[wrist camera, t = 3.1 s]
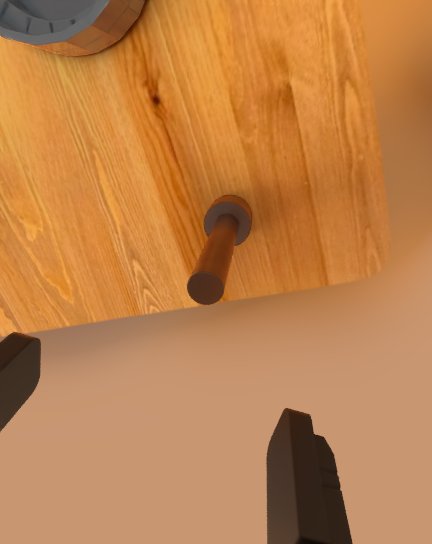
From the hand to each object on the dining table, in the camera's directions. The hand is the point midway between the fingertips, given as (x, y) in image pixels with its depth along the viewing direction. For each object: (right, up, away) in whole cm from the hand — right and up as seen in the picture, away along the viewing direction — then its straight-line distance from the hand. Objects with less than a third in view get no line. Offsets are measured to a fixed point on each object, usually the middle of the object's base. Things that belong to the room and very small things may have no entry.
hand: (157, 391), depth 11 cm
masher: (+3, +9, +24) cm, 26 cm away
